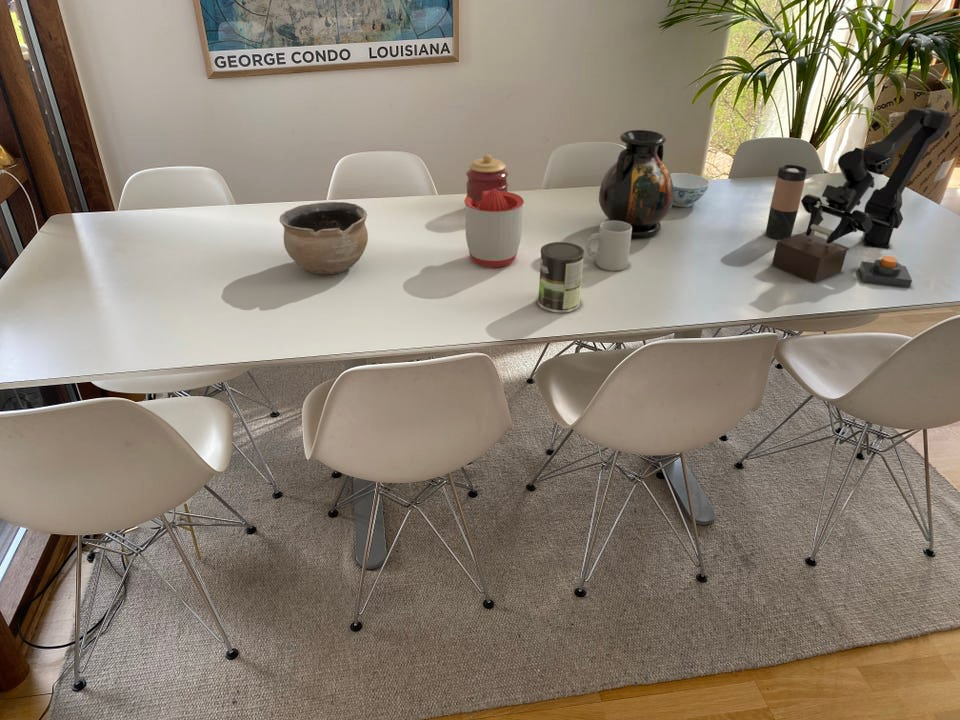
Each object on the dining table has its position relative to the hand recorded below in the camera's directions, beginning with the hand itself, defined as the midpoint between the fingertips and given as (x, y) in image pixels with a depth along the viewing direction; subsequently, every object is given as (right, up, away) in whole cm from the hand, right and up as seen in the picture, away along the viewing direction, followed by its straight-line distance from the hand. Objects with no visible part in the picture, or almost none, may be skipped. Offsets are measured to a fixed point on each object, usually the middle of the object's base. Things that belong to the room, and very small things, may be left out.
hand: (816, 238), depth 204 cm
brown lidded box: (-1, -8, +4) cm, 8 cm away
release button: (+17, -7, -3) cm, 19 cm away
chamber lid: (-1, -2, 0) cm, 2 cm away
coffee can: (-70, -18, -15) cm, 74 cm away
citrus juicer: (-86, -4, +8) cm, 87 cm away
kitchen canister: (-87, +15, +40) cm, 97 cm away
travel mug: (-1, +5, +24) cm, 24 cm away
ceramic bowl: (-130, -7, +2) cm, 130 cm away
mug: (-55, -6, +5) cm, 56 cm away
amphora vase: (-44, +7, +27) cm, 52 cm away
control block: (+17, -10, -1) cm, 20 cm away
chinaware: (-24, +19, +46) cm, 55 cm away
